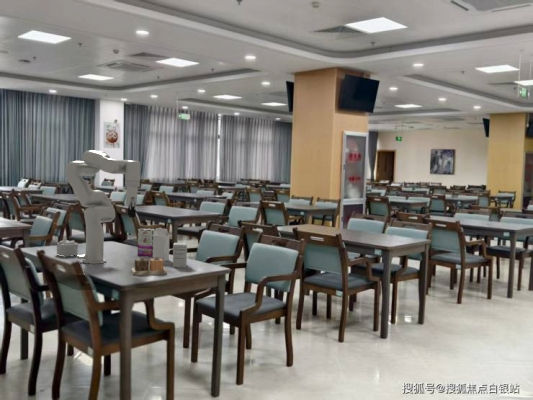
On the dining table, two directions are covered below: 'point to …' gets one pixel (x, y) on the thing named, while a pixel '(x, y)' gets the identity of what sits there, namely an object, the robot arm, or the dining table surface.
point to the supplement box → (179, 254)
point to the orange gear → (155, 264)
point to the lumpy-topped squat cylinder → (67, 248)
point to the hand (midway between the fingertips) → (131, 216)
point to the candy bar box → (145, 242)
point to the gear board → (145, 267)
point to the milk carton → (161, 244)
